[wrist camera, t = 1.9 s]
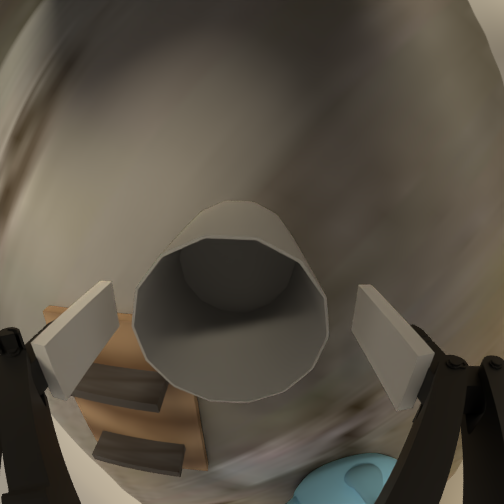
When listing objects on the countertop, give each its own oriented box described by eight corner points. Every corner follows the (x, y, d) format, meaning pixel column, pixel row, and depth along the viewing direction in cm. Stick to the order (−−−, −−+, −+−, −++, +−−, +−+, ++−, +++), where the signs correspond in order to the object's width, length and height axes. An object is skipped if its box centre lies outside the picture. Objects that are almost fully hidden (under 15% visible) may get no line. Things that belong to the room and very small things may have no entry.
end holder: (49, 305, 22) (19, 332, 18) (187, 317, 23) (173, 356, 18) (106, 447, 29) (95, 475, 24) (208, 463, 29) (204, 496, 24)
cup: (270, 181, 20) (289, 198, 10) (310, 284, 22) (349, 368, 12) (161, 229, 21) (97, 283, 11) (209, 323, 23) (189, 416, 13)
